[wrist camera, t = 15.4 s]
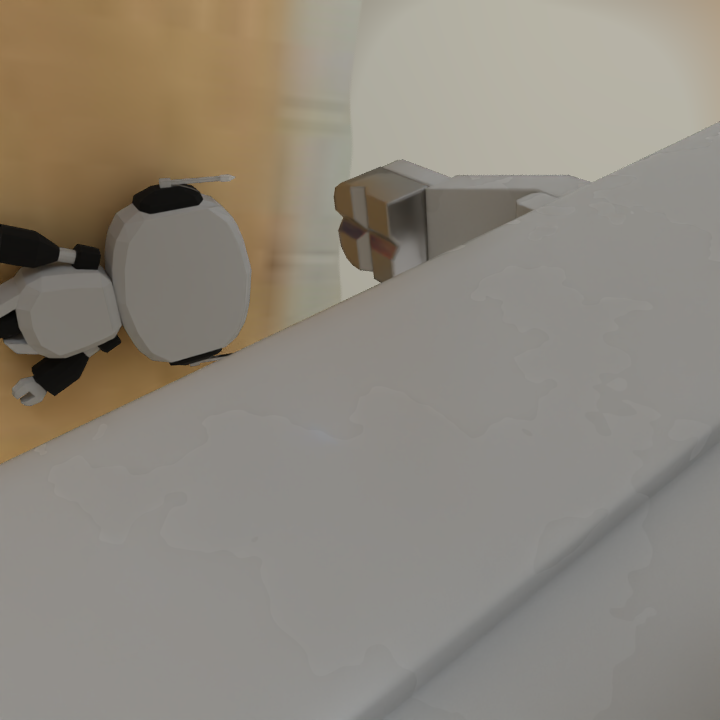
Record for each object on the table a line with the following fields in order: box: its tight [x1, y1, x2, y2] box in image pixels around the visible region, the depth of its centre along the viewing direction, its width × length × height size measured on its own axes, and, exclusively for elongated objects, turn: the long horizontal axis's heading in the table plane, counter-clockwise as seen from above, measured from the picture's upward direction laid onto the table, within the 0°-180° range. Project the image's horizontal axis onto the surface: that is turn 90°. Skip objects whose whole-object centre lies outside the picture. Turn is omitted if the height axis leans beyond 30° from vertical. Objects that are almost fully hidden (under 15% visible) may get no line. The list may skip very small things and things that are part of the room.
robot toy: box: [0, 174, 251, 406], centre depth 38 cm, size 12×4×15 cm
